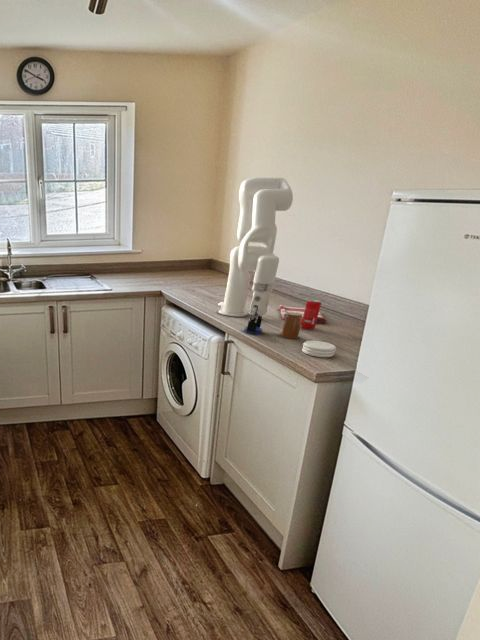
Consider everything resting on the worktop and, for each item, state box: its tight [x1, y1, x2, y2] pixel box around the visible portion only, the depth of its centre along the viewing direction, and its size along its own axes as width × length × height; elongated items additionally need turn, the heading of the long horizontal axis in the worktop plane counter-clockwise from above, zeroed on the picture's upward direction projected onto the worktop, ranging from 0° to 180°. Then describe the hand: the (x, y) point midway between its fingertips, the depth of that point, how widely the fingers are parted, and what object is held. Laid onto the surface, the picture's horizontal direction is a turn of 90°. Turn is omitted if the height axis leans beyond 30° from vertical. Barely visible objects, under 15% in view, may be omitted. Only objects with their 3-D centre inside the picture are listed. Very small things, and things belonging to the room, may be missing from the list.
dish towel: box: [278, 304, 327, 324], centre depth 214 cm, size 17×23×3 cm
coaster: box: [301, 340, 337, 359], centre depth 165 cm, size 10×10×4 cm
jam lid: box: [243, 325, 263, 336], centre depth 190 cm, size 7×7×2 cm
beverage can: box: [301, 299, 322, 331], centre depth 194 cm, size 5×5×12 cm
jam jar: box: [280, 312, 303, 340], centre depth 183 cm, size 6×6×10 cm
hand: (253, 328), depth 190 cm, fingers open, 7 cm apart
